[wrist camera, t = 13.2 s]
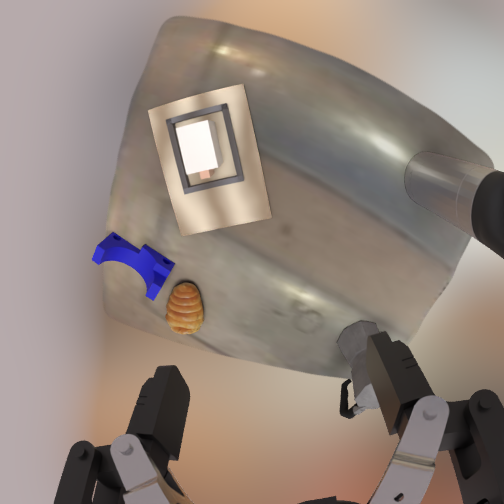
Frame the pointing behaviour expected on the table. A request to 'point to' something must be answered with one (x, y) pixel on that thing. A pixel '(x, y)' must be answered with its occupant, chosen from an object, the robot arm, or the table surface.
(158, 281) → the cable clip
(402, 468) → the robot arm
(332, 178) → the table surface
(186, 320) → the pastry
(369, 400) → the coffeepot
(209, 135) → the keyed plug
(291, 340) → the table surface
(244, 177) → the board
